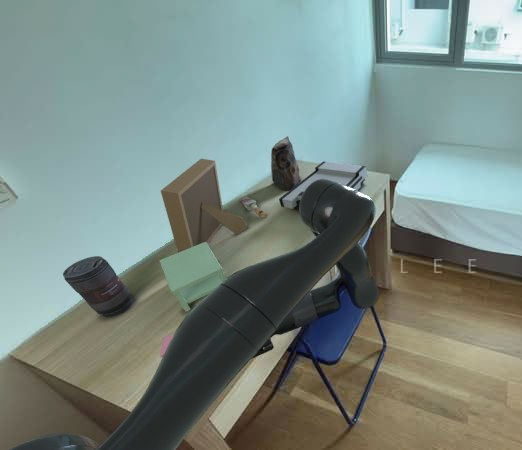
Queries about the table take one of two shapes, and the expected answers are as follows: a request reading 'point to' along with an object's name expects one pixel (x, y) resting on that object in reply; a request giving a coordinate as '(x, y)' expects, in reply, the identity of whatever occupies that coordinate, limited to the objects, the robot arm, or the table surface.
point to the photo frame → (197, 206)
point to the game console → (326, 170)
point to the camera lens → (99, 286)
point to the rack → (192, 273)
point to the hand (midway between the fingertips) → (218, 340)
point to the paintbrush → (252, 205)
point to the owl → (284, 165)
